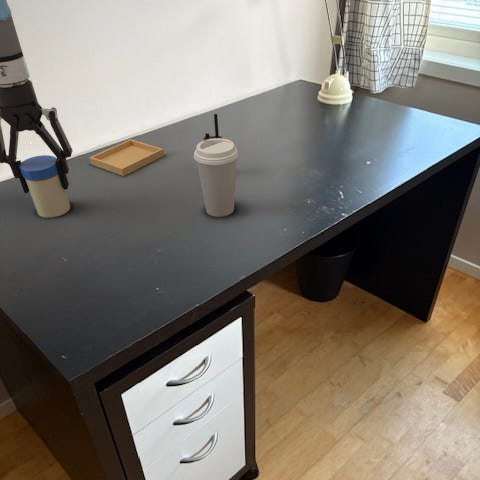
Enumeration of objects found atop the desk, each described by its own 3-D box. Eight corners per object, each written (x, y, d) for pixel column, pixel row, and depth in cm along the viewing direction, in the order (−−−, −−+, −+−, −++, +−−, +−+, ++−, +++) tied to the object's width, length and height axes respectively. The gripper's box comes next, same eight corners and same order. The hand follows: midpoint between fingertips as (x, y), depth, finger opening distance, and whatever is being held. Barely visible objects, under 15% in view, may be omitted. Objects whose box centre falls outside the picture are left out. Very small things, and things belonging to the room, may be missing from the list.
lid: (19, 182, 103) (15, 172, 102) (26, 166, 109) (23, 157, 108) (57, 178, 104) (54, 169, 102) (62, 163, 110) (59, 153, 108)
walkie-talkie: (206, 176, 123) (200, 116, 113) (206, 170, 125) (201, 112, 115) (224, 176, 122) (221, 116, 112) (225, 170, 125) (221, 111, 115)
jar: (30, 211, 112) (14, 167, 105) (57, 198, 117) (43, 155, 109) (50, 221, 109) (34, 175, 101) (76, 207, 113) (63, 162, 106)
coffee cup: (233, 196, 114) (230, 134, 104) (246, 215, 107) (244, 150, 97) (194, 204, 112) (187, 140, 102) (205, 223, 105) (199, 158, 95)
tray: (91, 164, 131) (89, 157, 130) (132, 145, 140) (130, 139, 138) (123, 176, 125) (121, 168, 123) (164, 155, 133) (163, 148, 132)
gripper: (-50, 92, 90) (-4, 200, 106) (62, 83, 92) (91, 191, 107) (-38, 80, 96) (4, 185, 111) (67, 72, 97) (94, 177, 113)
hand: (47, 188), depth 109 cm, fingers closed on lid, 8 cm apart
